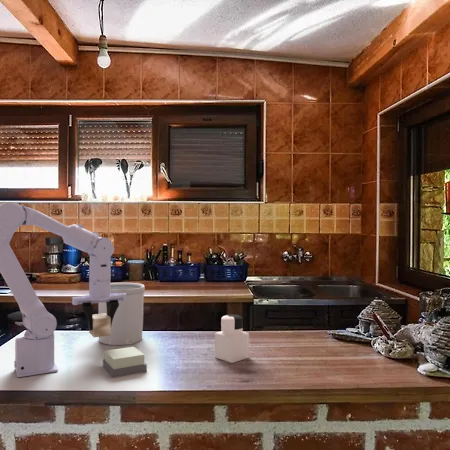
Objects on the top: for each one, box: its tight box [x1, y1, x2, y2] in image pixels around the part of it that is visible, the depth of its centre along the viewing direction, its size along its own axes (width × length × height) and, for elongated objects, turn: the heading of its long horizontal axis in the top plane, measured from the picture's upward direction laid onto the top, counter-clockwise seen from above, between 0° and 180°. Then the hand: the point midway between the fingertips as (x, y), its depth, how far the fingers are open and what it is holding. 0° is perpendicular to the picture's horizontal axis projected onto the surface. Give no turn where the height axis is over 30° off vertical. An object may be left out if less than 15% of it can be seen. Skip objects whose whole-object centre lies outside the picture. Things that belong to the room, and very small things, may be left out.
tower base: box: [102, 358, 148, 379], centre depth 116 cm, size 9×9×2 cm
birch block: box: [88, 313, 111, 338], centre depth 124 cm, size 4×6×5 cm
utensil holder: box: [98, 281, 146, 346], centre depth 143 cm, size 15×15×18 cm
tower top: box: [104, 346, 145, 369], centre depth 116 cm, size 8×8×2 cm
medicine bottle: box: [214, 313, 250, 364], centre depth 126 cm, size 7×7×12 cm
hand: (99, 328), depth 124 cm, fingers closed on birch block, 4 cm apart
